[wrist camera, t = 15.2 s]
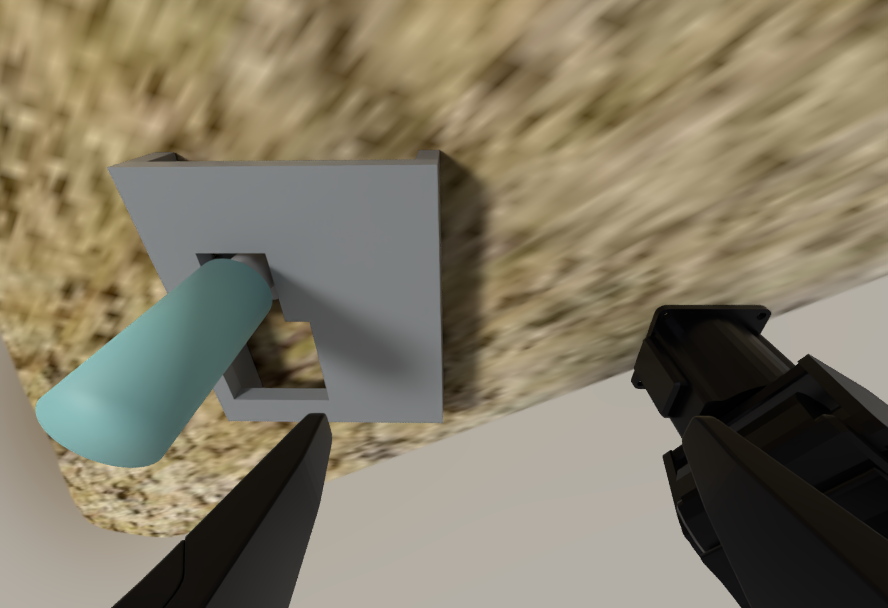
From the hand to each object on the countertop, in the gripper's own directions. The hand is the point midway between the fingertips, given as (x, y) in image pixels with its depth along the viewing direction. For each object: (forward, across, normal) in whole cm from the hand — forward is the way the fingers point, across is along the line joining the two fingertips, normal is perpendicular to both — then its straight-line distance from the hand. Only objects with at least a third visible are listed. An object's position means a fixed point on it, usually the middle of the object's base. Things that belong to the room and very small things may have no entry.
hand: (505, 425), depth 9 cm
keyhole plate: (+13, +9, +4) cm, 16 cm away
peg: (+13, +12, +2) cm, 18 cm away
